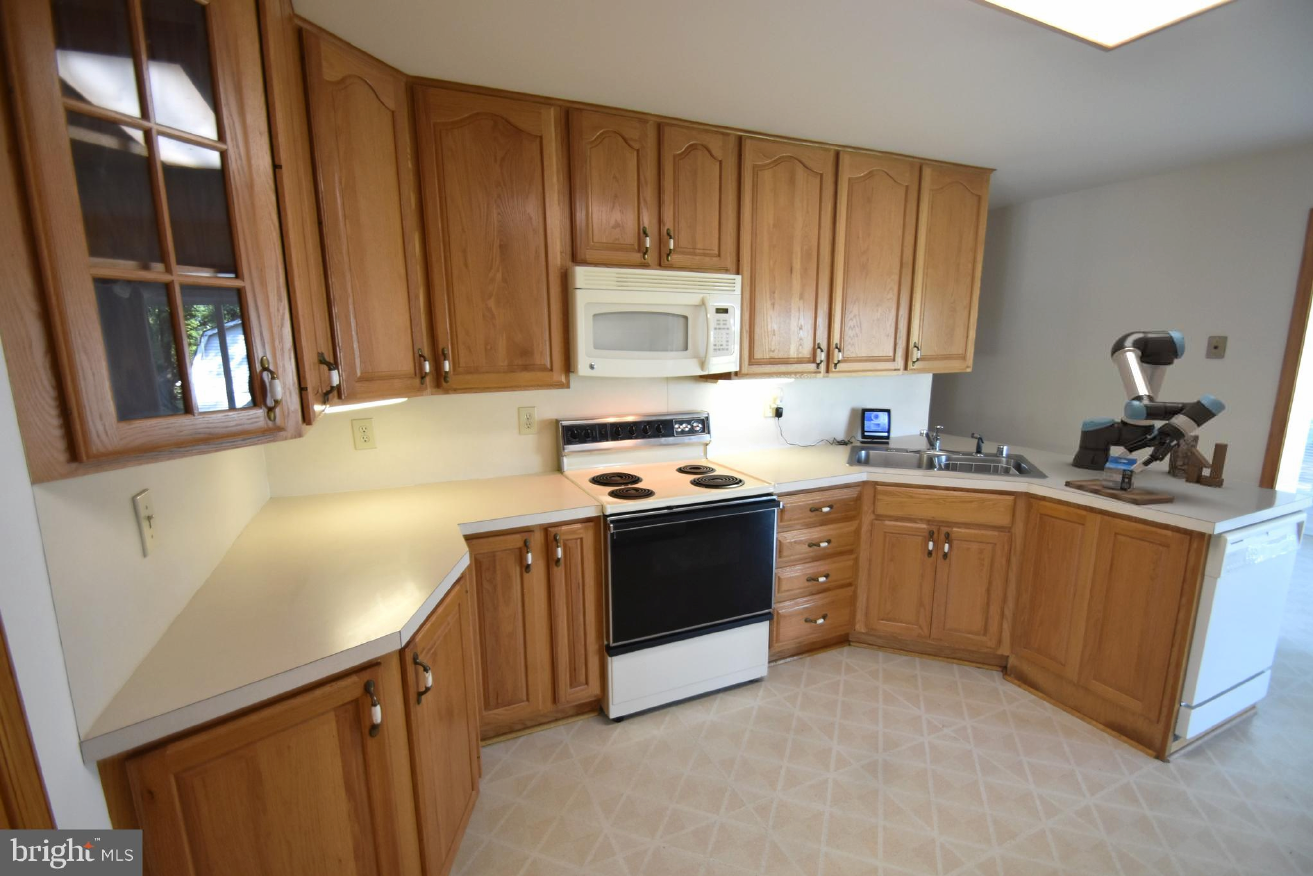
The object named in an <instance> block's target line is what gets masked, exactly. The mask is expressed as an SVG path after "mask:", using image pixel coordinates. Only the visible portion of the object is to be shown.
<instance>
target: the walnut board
mask: <svg viewBox="0 0 1313 876" xmlns="http://www.w3.org/2000/svg"><path fill="white" fill-rule="evenodd" d="M1102 480H1103V479H1098V478H1092V479H1091V478H1089V479H1076V480H1075V479H1073V480H1064V481H1065V482H1064V486H1065V487H1069V488H1073V489H1076V490H1080V491H1083V492H1089V493H1091V494H1095V495H1098V496H1102V497H1106V498H1110V499H1114V500H1118V501H1120V502H1121V501H1122V502H1126V503H1128V504H1133V505H1136V506H1142V505H1143V506H1146V505H1147V506H1148V505H1159V504H1171V503H1172V504H1173V503H1174V499H1175V497H1174V496H1170V495H1166V494H1162V493H1157V492H1153V491H1148V490H1145V489H1141V488H1137V487H1133V490H1132V491H1126V490H1119V489H1113V488H1107V487H1102Z"/></svg>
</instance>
